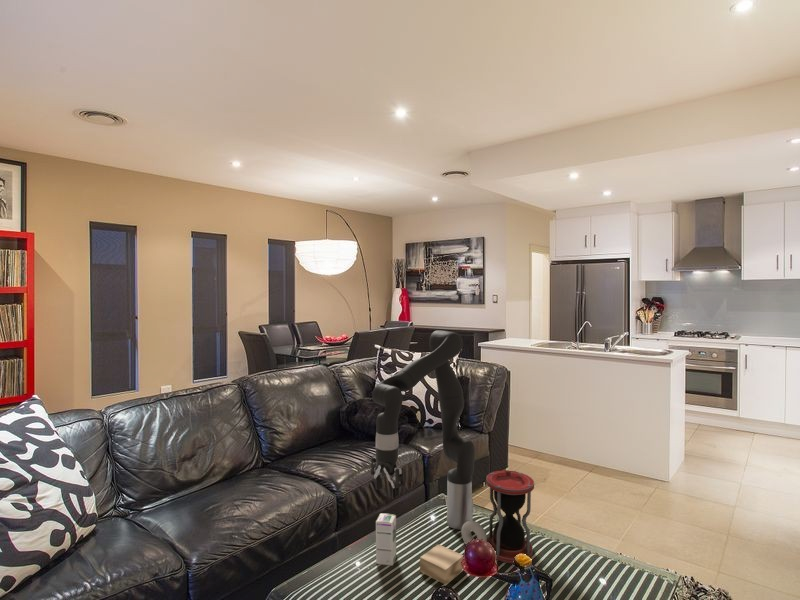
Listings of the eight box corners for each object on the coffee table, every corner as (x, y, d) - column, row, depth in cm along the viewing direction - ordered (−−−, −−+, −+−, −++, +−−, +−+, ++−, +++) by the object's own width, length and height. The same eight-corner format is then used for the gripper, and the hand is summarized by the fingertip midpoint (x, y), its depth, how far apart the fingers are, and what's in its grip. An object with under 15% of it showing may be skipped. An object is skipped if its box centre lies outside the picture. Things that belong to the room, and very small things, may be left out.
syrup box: (393, 566, 156) (393, 522, 155) (375, 563, 157) (375, 520, 157) (396, 556, 162) (396, 514, 161) (379, 554, 163) (379, 512, 162)
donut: (459, 546, 168) (459, 518, 168) (464, 542, 171) (465, 514, 170) (483, 557, 161) (483, 528, 161) (488, 553, 164) (489, 524, 163)
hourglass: (541, 549, 166) (542, 478, 165) (518, 570, 154) (520, 494, 153) (500, 532, 177) (501, 466, 176) (476, 550, 165) (477, 479, 164)
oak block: (438, 558, 161) (438, 544, 161) (463, 570, 155) (463, 555, 154) (419, 572, 153) (420, 557, 153) (445, 585, 147) (445, 569, 147)
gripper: (409, 448, 155) (409, 497, 155) (382, 437, 165) (381, 483, 166) (392, 454, 150) (391, 504, 151) (364, 442, 160) (364, 489, 161)
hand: (386, 493), depth 158 cm, fingers open, 8 cm apart
